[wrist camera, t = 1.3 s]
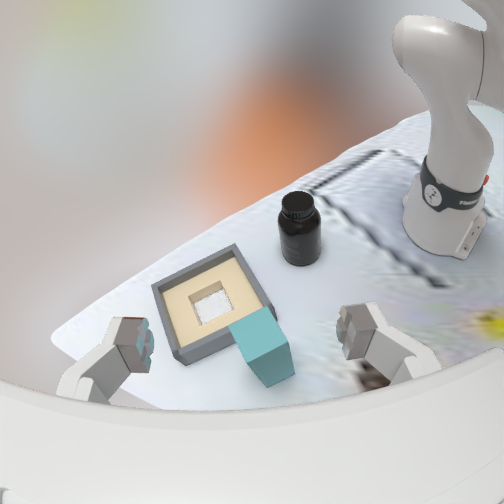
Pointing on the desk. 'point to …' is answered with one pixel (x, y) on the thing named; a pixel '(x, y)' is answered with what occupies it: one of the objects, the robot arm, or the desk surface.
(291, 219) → the supplement bottle
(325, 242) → the desk surface
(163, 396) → the desk surface
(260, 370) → the peg
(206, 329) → the open box
